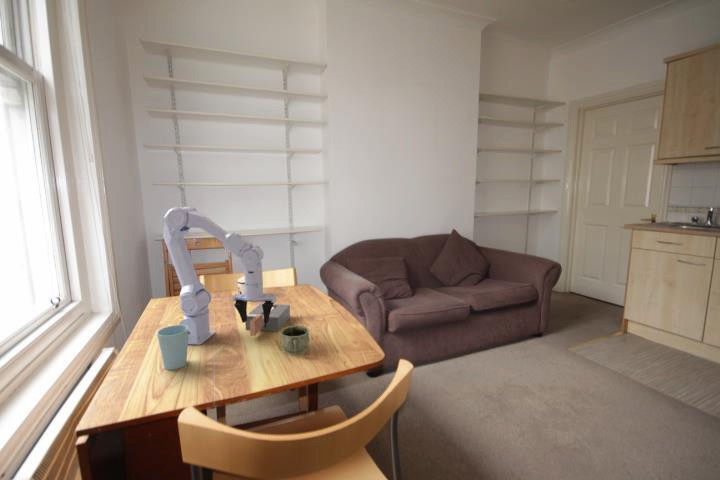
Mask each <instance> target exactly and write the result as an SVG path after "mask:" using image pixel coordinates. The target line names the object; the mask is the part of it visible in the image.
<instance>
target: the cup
mask: <svg viewBox="0 0 720 480" xmlns="http://www.w3.org/2000/svg"><path fill="white" fill-rule="evenodd" d="M188 331H189V327H188V326H185V325H179V324H176V325H175V324H174V325H170V326H166V327H163V328H160V329H158V331H157V333H156V334H157V335H156V336H157V339H158V344H159V350H160V353H161V359H162V363H163V367H164V369H165V370H168V371H172V370H179V369H181V368H182V367H185V366H186V364H187V363H188V361H187V359H188V345H189V344H188Z"/></svg>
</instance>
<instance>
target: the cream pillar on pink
mask: <svg viewBox="0 0 720 480" xmlns="http://www.w3.org/2000/svg"><path fill="white" fill-rule="evenodd" d="M274 309H275V307H272V309H271V311H270V313H271V312H272V311H273V310H274ZM265 325H266V324H265V323H264V317H263V316H262V314H257V315H256V316H255V317H254V318H253V319H252V320H251V321H250V330H249V335H250V337H255V336H256V335H257V334H258V333H260V331H261V329H262V328H263V327H264V326H265Z"/></svg>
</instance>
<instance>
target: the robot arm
mask: <svg viewBox="0 0 720 480" xmlns="http://www.w3.org/2000/svg"><path fill="white" fill-rule="evenodd" d="M163 221H164V225H163V226H164V227H163V234H162V237H163V240H164V242H165V245H166V249H167V250H168V253H169V256H170V260H171V262H172V265H173V267H174V269H175V270H174V271H175V274H176V276H177V279H178V281H179V284H180V286H181V290H180V293H179V298H180V306H179V307H180V310H181V312H182V314H183V313H184V317H183V319H182V320H181V321H180V322H179V324H178V325H185V326H188V327H189V331H188V345H202V344H203V343H204V342H206V341H208V340H209V339H210V338H211V337H212V336H214V335H216V331H213V330H212V331H211V329H210V324H211V323H210V309H209V305H210V303H211V302H212V295H211V293H210V292H209V291H208V290H207V289H206V287H205V285H204V283H202V282H201V281H200V280H199V277H198V275H197V272H196V269H195V267H194V263H193V260H192V257H191V256H190V255H191V254H190V252H189V249H188V247H187V244H186V241H185V239H184V237H185V236H186V234H187V233H188V231H189V230H190V229H191V228H195V229H201V230H202V231H204V232H206V233H208V234H209V235H211V236H212V237H214V238H216V239H217V240H219V241H221V244H222V248H225V250H227V251H228V252H230V253H232V254H233V255H235V257H238V258H239V259H240V262H241V263H242V264H243V268H244V270H243V273H244V276H245V294H238V293H236V294H235V293H234V294H233V295H232V298H231V299H232V302H235V303H234V304H233V306H234V307H235V309H236V311H237V312H238V314H239V316H240V319H241V321H242V323H244V324H245V322H246V321H247V314H248V313H247V312H248V311H247V307H248V302H256V303H257V302H259V303H261V302H262V303H261V304H262V307H263V312H264V323H265V324H266V323H267V322H268V321H269V315H270V311H271V309H272V306H273V304H275V303H276V302H277V295H276V294H275V295H272V294H266V293H264V279H263V266H262V265H263V264H262V260H263V259H264V250H262V249H261V247H260V246H258V245H254V244H253V242H248V240H245V239H244V238H242V235H241V234H240V233H239V232H238V233H235V232H230V233H229V232H227V231H226V230H225V229H224V228H222V227H221V226H219V225H218V224H217V223H215V222H214V221H213V220H212V219H210V218H209V217H208V216H206V215H205V214H204V213H203V212H202V211H199V210H197V209H196V208H195V207H193V206H185V207H172V208H170V209H168V210H167V212H166V213H165V215H164V217H163ZM244 276H243V277H244Z"/></svg>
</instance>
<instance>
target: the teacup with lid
mask: <svg viewBox="0 0 720 480" xmlns="http://www.w3.org/2000/svg"><path fill="white" fill-rule="evenodd" d="M236 281H237V282H236V283H237V294H245V276H241V277H240V278H238V279H237V280H236Z"/></svg>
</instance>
